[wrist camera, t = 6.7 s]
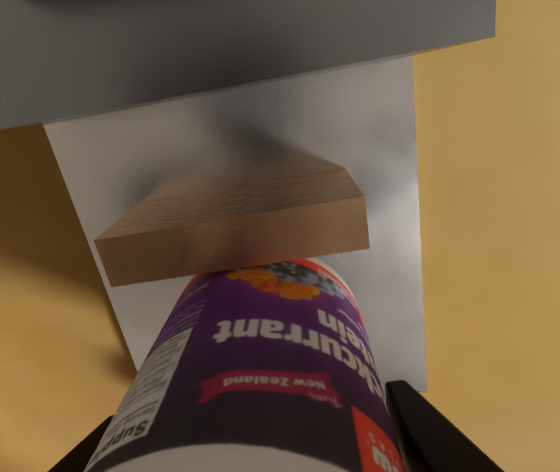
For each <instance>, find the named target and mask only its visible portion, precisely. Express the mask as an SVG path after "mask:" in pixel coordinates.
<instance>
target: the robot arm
mask: <svg viewBox="0 0 560 472" xmlns="http://www.w3.org/2000/svg"><path fill="white" fill-rule="evenodd" d="M385 395H386V404H387V407H388V411H389V414H390V418H391V422H392V425H393V428H394V432H395V435H396V438H397V442H398V446H399V449H400V453H401V457H402V460H403V464H404V467H405V470H406V472H504V471H503V470H502V469H501V468H500V467H499V466H498V465H497V464H496V463H494V462H493V461H492V460H491V459H490V458H489V457H488V456H487V455H486V454H485V453H484V452H483V451H481V450H480V449H479V448H478V447H477V446H476V445H475V444H474V443H473V442H472V441H471V440H470V439H468V438H467V437H466V436H465V435H464V434H463V433H462V432H461V431H460V430H459V429H458V428H456V427H455V426H454V425H453V424H452V423H451V422H450V421H449V420H448V419H447V418H446V417H445V416H443V415H442V414H441V413H440V412H439V411H438V410H437V409H436V408H435V407H434V406H433V405H432V404H430V403H429V402H428V401H427V400H426V399H425V398H424V397H423V396H422V395H421V394H420V393H419V392H417V391H416V390H415V389H414V388H413V387H412V386H411V385H410V384H409V383H408V382H407V381H405V380H402V379H401V380H393V381H387V382H386V383H385ZM113 416H114V415H112V416H110V417H108V418H107V419H106V420H105V421H104V422H102V423H101V424H100V425H99V426H98V427H97V428H96V429H95V430H94V431H92V432H91V433H90V434H89V435H88V436H87V437H86V438H85V439H84V440H82V441H81V442H80V443H79V444H78V445H77V446H76V447H75V448H74V449H72V450H71V451H70V452H69V453H68V454H67V455H66V456H65V457H63V458H62V459H61V460H60V461H59V462H58V463H57V464H56V465H55V466H53V467H52V468H51V469H50V470H49V471H48V472H83V471H84V470H85V468H86V466H87V464H88V462H89V460H90V459H91V457H92V455H93V454H94V452H95V450H96V448H97V446H98V445H99V443H100V441H101V439H102V437H103V435H104V433H105V431H106V429H107V427H108V426H109V424H110V422H111V420H112V418H113Z"/></svg>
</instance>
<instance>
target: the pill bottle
mask: <svg viewBox="0 0 560 472" xmlns="http://www.w3.org/2000/svg"><path fill="white" fill-rule="evenodd" d="M83 472H406V470H405V467H404V464H403V460H402V457H401V453H400V449H399V446H398V442H397V438H396V435H395V432H394V428H393V425H392V422H391V418H390V414H389V411H388V407H387V404H386V401H385V397H384V393H383V390H382V386H381V383H380V380H379V377H378V373H377V369H376V365H375V361H374V358H373V355H372V351H371V348H370V344H369V340H368V336H367V333H366V329H365V326H364V323H363V319H362V316H361V313H360V310H359V308H358V305H357V303H356V300H355V298H354V296H353V294H352V292H351V291H350V289H349V287H348V286H347V284H346V283H345V282H344V281H343V279H342V278H341V277H340V276H339V275H338V274H337V273H336V272H335V271H334V270H333V269H332V268H331V267H329V266H328V265H327V264H325V263H324V262H322V261H321V260H319V259H317V258H316V257H311V258H304V259H297V260H291V261H284V262H277V263H271V264H264V265H257V266H251V267H244V268H237V269H231V270H224V271H217V272H211V273H204V274H197V275H194V276H193V278H192V279H191V280H190V282H189V283H188V284H187V286H186V287H185V289H184V291H183V292H182V293H181V295H180V297H179V299H178V300H177V302H176V304H175V306H174V308H173V309H172V311H171V313H170V315H169V317H168V319H167V320H166V322H165V324H164V326H163V328H162V329H161V331H160V333H159V335H158V337H157V339H156V340H155V342H154V344H153V346H152V348H151V349H150V351H149V353H148V355H147V357H146V358H145V360H144V362H143V364H142V366H141V367H140V369H139V371H138V373H137V375H136V377H135V379H134V380H133V382H132V384H131V386H130V387H129V389H128V391H127V393H126V394H125V396H124V398H123V400H122V402H121V404H120V406H119V408H118V410H117V411H116V413H115V415H114V416H113V418H112V420H111V422H110V424H109V426H108V427H107V429H106V431H105V433H104V435H103V437H102V439H101V441H100V443H99V445H98V446H97V448H96V450H95V452H94V454H93V455H92V457H91V459H90V460H89V462H88V464H87V466H86V468H85V470H84V471H83Z"/></svg>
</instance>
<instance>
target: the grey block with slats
mask: <svg viewBox="0 0 560 472" xmlns="http://www.w3.org/2000/svg"><path fill="white" fill-rule="evenodd" d="M495 12H496V0H0V132H3V131H9V130H15V129H21V128H27V127H33V126H39V125H43V126H44V129H45V131H46V134H47V136H48V139H49V142H50V144H51V147H52V150H53V152H54V155H55V157H56V160H57V163H58V165H59V168H60V170H61V173H62V176H63V178H64V181H65V184H66V186H67V189H68V191H69V194H70V197H71V199H72V202H73V204H74V207H75V210H76V212H77V215H78V218H79V220H80V223H81V225H82V228H83V231H84V233H85V236H86V238H87V241H88V244H89V246H90V249H91V252H92V254H93V257H94V259H95V262H96V265H97V267H98V270H99V272H100V275H101V278H102V280H103V283H104V286H105V288H106V291H107V293H108V296H109V299H110V301H111V304H112V306H113V309H114V312H115V314H116V317H117V320H118V322H119V325H120V327H121V330H122V333H123V335H124V338H125V340H126V343H127V346H128V348H129V351H130V354H131V356H132V359H133V361H134V364H135V367H136V369H137V372H138V371H139V369H140V367H141V366H142V364H143V362H144V360H145V358H146V357H147V355H148V353H149V351H150V349H151V348H152V346H153V344H154V342H155V340H156V339H157V337H158V335H159V333H160V331H161V329H162V328H163V326H164V324H165V322H166V320H167V319H168V317H169V315H170V313H171V311H172V309H173V308H174V306H175V304H176V302H177V300H178V299H179V297H180V295H181V293H182V292H183V291H184V289H185V287H186V286H187V284H188V283H189V282H190V280H191V279H192V278H193V276H194V275H197V274H204V273H211V272H217V271H224V270H231V269H237V268H244V267H251V266H257V265H264V264H271V263H277V262H284V261H291V260H297V259H304V258H311V257H316V258H317V259H319V260H321V261H322V262H324V263H325V264H327V265H328V266H329V267H331V268H332V269H333V270H334V271H335V272H336V273H337V274H338V275H339V276H340V277H341V278H342V279H343V281H344V282H345V283H346V284H347V286H348V287H349V289H350V291H351V292H352V294H353V296H354V298H355V300H356V303H357V305H358V308H359V310H360V313H361V316H362V319H363V323H364V326H365V329H366V333H367V336H368V340H369V344H370V348H371V351H372V355H373V358H374V361H375V365H376V369H377V373H378V377H379V380H380V383H381V386H382V390H383V393H384V396H386V395H385V383H386V382H387V381H393V380H401V379H402V380H405V381H407V382H408V383H409V384H410V385H411V386H412V387H413V388H414V389H415V390H416V391H417V392H424V391H427V379H426V356H425V333H424V310H423V288H422V265H421V242H420V220H419V197H418V174H417V151H416V129H415V106H414V83H413V61H412V55H416V54H421V53H425V52H430V51H434V50H438V49H443V48H447V47H452V46H456V45H460V44H465V43H469V42H474V41H478V40H482V39H487V38H491V37H495ZM408 56H411V57H408ZM403 57H405V58H403ZM399 58H400V59H399ZM394 59H395V60H394ZM51 123H52V124H51ZM45 124H47V125H45Z"/></svg>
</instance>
